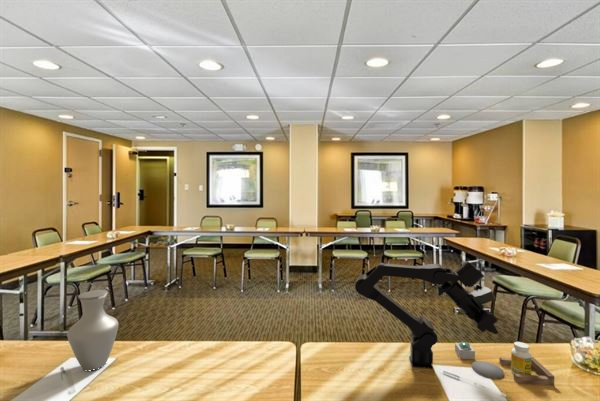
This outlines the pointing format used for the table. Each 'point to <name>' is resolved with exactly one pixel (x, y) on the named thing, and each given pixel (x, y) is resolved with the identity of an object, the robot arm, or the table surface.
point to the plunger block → (464, 352)
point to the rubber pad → (488, 369)
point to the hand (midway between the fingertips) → (494, 330)
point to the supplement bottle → (521, 359)
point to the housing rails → (540, 370)
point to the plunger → (464, 345)
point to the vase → (93, 332)
